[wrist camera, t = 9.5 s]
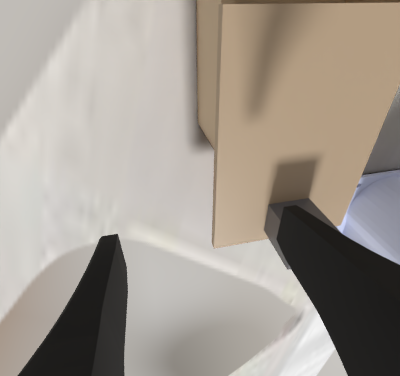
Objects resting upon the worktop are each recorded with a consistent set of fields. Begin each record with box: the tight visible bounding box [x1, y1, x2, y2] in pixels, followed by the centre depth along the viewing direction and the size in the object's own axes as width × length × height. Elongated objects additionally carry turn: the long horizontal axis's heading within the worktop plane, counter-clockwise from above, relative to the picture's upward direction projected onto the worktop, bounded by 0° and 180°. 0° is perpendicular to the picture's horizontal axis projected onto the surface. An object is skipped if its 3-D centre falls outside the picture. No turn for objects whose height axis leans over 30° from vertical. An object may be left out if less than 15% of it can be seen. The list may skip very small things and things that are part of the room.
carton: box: [196, 0, 400, 151], centre depth 14 cm, size 14×10×5 cm
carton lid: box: [212, 2, 400, 269], centre depth 14 cm, size 14×10×4 cm
